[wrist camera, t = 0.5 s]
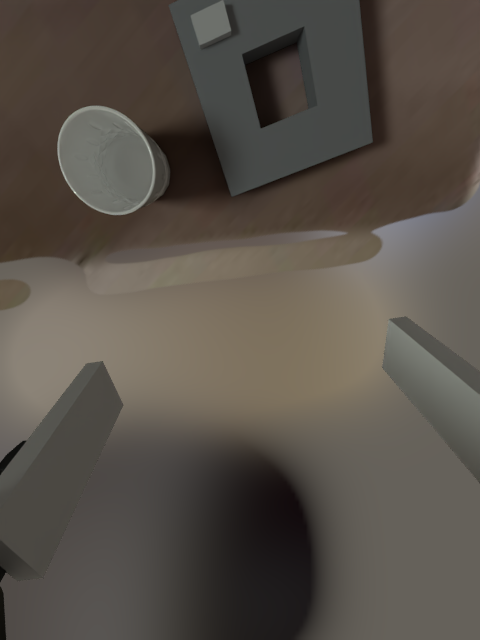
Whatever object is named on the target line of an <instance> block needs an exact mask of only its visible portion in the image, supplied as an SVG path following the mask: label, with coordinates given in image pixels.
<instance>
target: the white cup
mask: <svg viewBox="0 0 480 640" xmlns="http://www.w3.org/2000/svg"><path fill="white" fill-rule="evenodd" d="M58 159H59V164H60V167H61V170H62V173H63V175H64V177H65V179H66V181H67V183H68V185H69V186H70V188H71V189H72V190H73V192H74V193H75V194H76V195H77V196H78V197H79V198H80V199H81V200H82V201H83V202H85V203H86V204H87V205H89V206H90V207H92V208H94V209H95V210H98V211H100V212H103V213H106V214H111V215H124V214H128V213H131V212H134V211H136V210H138V209H140V208H142V207H145V206H147V205H149V204H151V203H152V202H154V201H155V200H156V199H158V198H159V197H161V196H162V195H163V194H164V192H165V191H166V189H167V187H168V186H169V181H170V167H169V164H168V161H167V158H166V155H165V154H164V153H163V151H162V150H161V149H160V148H159V146H158V145H157V144H156V142H155V141H154V140H153V139H152V138H151V137H150V136H149V135H148V134H147V133H145V132H144V131H143V130H142V129H141V128H140V127H138V126H137V125H136V124H135V123H134V122H133V121H132V120H130V119H129V118H128V117H127V116H125V115H124V114H122V113H120V112H118V111H116V110H114V109H111V108H108V107H104V106H88V107H84V108H81V109H79V110H77V111H76V112H74V113H73V114H72V115H70V116H69V117H68V119H67V120H66V121H65V123H64V124H63V126H62V128H61V131H60V134H59V138H58Z"/></svg>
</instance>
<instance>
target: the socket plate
mask: <svg viewBox="0 0 480 640" xmlns="http://www.w3.org/2000/svg"><path fill="white" fill-rule="evenodd" d="M169 8H170V11H171V14H172V17H173V20H174V23H175V26H176V29H177V32H178V35H179V38H180V42H181V45H182V48H183V51H184V54H185V57H186V60H187V63H188V66H189V69H190V72H191V75H192V78H193V81H194V84H195V87H196V90H197V93H198V96H199V99H200V102H201V105H202V108H203V111H204V115H205V118H206V121H207V124H208V127H209V130H210V133H211V136H212V139H213V142H214V145H215V148H216V151H217V154H218V157H219V160H220V163H221V166H222V169H223V172H224V175H225V178H226V181H227V184H228V188H229V191H230V194H231V197H233V196H235V195H238V194H241V193H243V192H246V191H248V190H251V189H253V188H256V187H259V186H261V185H264V184H266V183H269V182H272V181H274V180H277V179H279V178H282V177H285V176H287V175H290V174H292V173H295V172H297V171H300V170H303V169H305V168H308V167H310V166H313V165H316V164H318V163H321V162H323V161H326V160H328V159H331V158H334V157H336V156H339V155H341V154H344V153H347V152H349V151H352V150H354V149H357V148H360V147H362V146H365V145H367V144H370V143H372V142H373V139H372V129H371V118H370V108H369V97H368V87H367V76H366V66H365V55H364V45H363V34H362V23H361V13H360V2H359V0H178V1H176V2H174V3H172V4H170V5H169ZM296 42H297V47H298V52H299V58H300V63H301V69H302V75H303V80H304V86H305V91H306V97H307V102H308V108H309V109H307V110H305V111H303V112H300V113H298V114H295V115H293V116H290V117H288V118H286V119H283V120H281V121H278V122H276V123H273V124H271V125H269V126H266V127H264V128H260V124H259V120H258V116H257V112H256V108H255V104H254V100H253V96H252V92H251V89H250V85H249V81H248V77H247V73H246V69H245V65H246V64H248V63H251V62H253V61H255V60H258V59H260V58H262V57H264V56H267V55H269V54H271V53H273V52H276V51H278V50H280V49H282V48H285V47H287V46H289V45H291V44H294V43H296Z"/></svg>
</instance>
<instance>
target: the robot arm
mask: <svg viewBox="0 0 480 640" xmlns="http://www.w3.org/2000/svg"><path fill="white" fill-rule="evenodd" d="M382 368H383V369H384V370H385V372H386V373H387V374H388V375H389V376H390V378H391V379H392V380H393V381H394V382H395V383H396V385H397V386H398V387H399V388H400V389H401V391H402V392H403V393H404V394H405V395H406V396H407V398H408V399H409V400H410V401H411V402H412V404H413V405H414V406H415V407H416V408H417V409H418V411H419V412H420V413H421V414H422V415H423V417H424V418H425V419H426V420H427V421H428V422H429V424H430V425H431V426H432V427H433V428H434V429H435V431H436V432H437V433H438V434H439V436H440V437H441V438H442V439H443V440H444V441H445V443H446V444H447V445H448V446H449V447H450V449H451V450H452V451H453V452H454V453H455V454H456V456H457V457H458V458H459V459H460V460H461V462H462V463H463V464H464V465H465V466H466V467H467V469H468V470H469V471H470V472H471V473H472V474H473V476H474V477H475V478H476V479H477V480H478V482H479V483H480V371H479V370H477V369H476V368H475V367H473V366H472V365H471V364H469V363H468V362H467V361H465V360H464V359H463V358H461V357H460V356H459V355H457V354H456V353H454V352H453V351H452V350H450V349H449V348H448V347H446V346H445V345H443V344H442V343H441V342H439V341H438V340H437V339H436V338H434V337H433V336H432V335H430V334H429V333H427V332H426V331H425V330H423V329H422V328H421V327H419V326H418V325H417V324H415V323H414V322H413V321H411V320H410V319H409V318H407V317H400V318H393V319H389V323H388V330H387V337H386V344H385V352H384V360H383V367H382ZM122 407H123V403H122V401H121V399H120V397H119V395H118V393H117V391H116V388H115V386H114V384H113V382H112V380H111V378H110V376H109V374H108V372H107V369H106V367H105V365H104V363H103V361H101V362H95V363H87V364H86V365H85V366H84V368H83V369H82V370H81V371H80V373H79V374H78V375H77V376H76V378H75V379H74V380H73V382H72V383H71V384H70V386H69V387H68V388H67V389H66V391H65V392H64V393H63V395H62V396H61V397H60V399H59V400H58V401H57V403H56V404H55V405H54V406H53V408H52V409H51V410H50V411H49V413H48V414H47V415H46V417H45V418H44V419H43V420H42V422H41V423H40V424H39V426H38V427H37V428H36V429H35V431H34V432H33V433H32V435H31V436H30V437H29V439H28V440H27V441H22V442H21V443H20V444H19V445H17V446H16V447H15V448H14V449H13V450H12V451H11V452H9V453H8V454H7V455H6V456H5V457H4V459H3V460H2V461H1V462H0V582H1V580H2V578H3V576H4V575H5V573H8V574H9V575H10V576H12V577H13V578H14V579H15V580H17V581H21V580H30V579H38V578H43V577H44V575H45V573H46V571H47V569H48V567H49V564H50V562H51V560H52V558H53V556H54V553H55V551H56V549H57V547H58V545H59V543H60V541H61V539H62V536H63V534H64V532H65V530H66V528H67V525H68V523H69V521H70V519H71V517H72V515H73V513H74V510H75V508H76V506H77V504H78V502H79V500H80V498H81V495H82V493H83V491H84V489H85V487H86V485H87V482H88V480H89V478H90V476H91V474H92V472H93V469H94V467H95V465H96V463H97V461H98V459H99V456H100V454H101V452H102V450H103V448H104V446H105V443H106V441H107V439H108V437H109V435H110V433H111V430H112V428H113V426H114V424H115V422H116V420H117V418H118V415H119V413H120V411H121V409H122ZM0 640H6V632H5V613H4V597H3V591H2V589H1V587H0Z"/></svg>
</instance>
